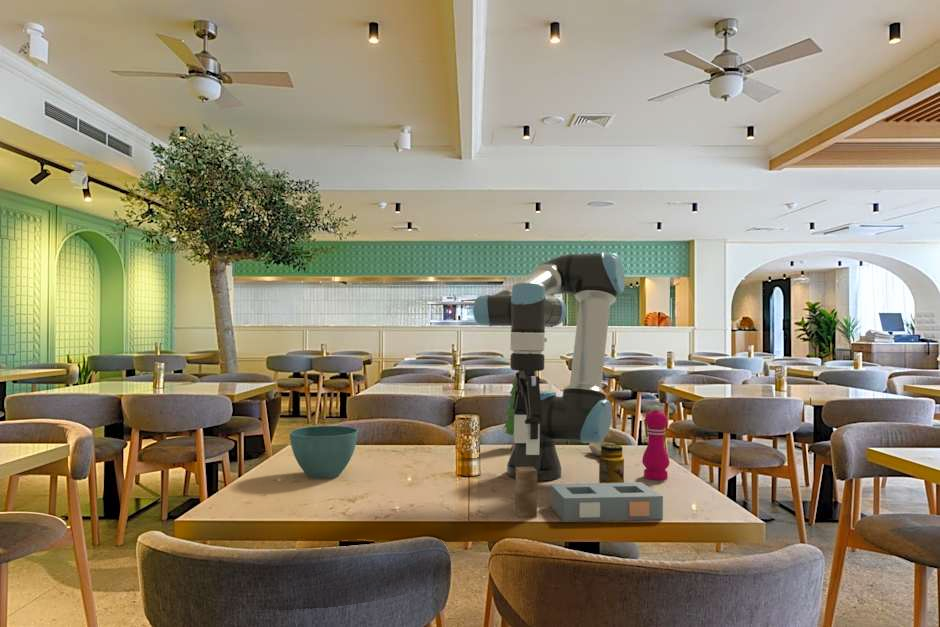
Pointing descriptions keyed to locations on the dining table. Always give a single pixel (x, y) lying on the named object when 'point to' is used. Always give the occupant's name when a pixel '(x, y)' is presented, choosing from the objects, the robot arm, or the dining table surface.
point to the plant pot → (323, 449)
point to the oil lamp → (598, 446)
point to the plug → (526, 492)
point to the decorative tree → (511, 413)
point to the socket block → (606, 502)
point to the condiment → (611, 464)
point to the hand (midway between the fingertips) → (526, 448)
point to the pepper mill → (655, 446)
